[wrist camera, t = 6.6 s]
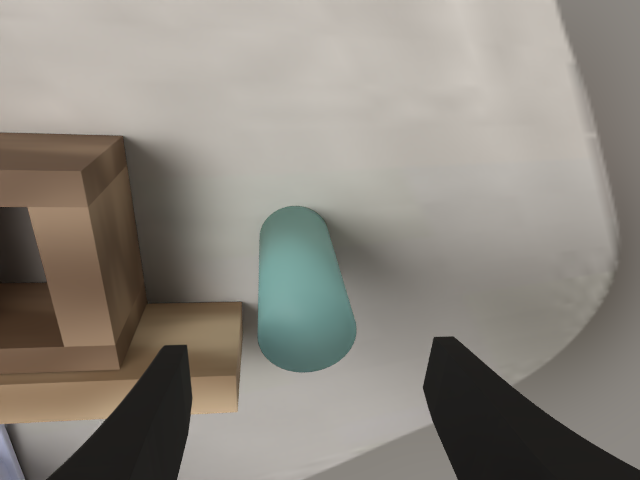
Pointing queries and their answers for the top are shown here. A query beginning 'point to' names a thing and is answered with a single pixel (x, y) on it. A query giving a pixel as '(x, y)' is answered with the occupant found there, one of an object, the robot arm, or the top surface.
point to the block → (71, 254)
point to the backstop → (139, 368)
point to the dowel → (301, 294)
